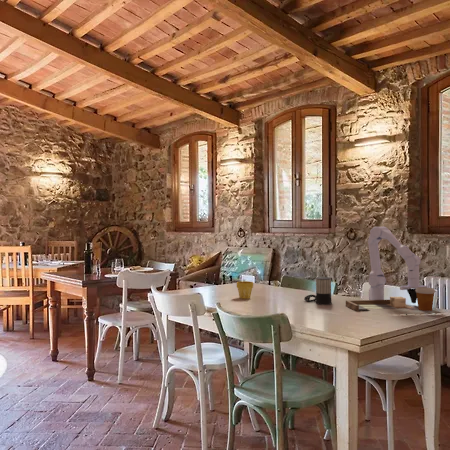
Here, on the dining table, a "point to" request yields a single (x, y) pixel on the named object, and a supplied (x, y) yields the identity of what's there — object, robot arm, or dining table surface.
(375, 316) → the dining table surface
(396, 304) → the maple block
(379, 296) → the robot arm
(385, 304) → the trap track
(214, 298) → the dining table surface
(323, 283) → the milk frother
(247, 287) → the plant pot
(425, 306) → the disposable coffee cup
